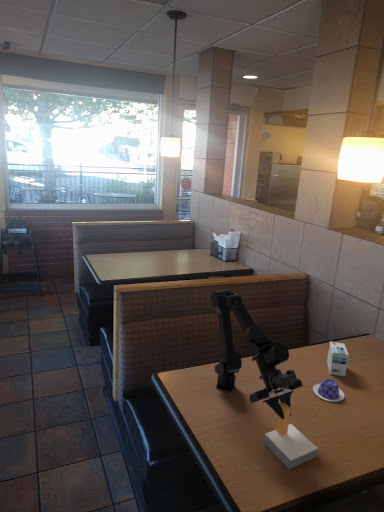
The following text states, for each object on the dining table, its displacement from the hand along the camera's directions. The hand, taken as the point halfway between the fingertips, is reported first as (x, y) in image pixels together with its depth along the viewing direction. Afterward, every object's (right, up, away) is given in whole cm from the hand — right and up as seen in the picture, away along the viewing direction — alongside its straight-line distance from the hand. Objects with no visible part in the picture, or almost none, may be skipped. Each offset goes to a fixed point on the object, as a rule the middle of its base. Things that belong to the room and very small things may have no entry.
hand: (286, 417), depth 122 cm
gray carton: (+1, -10, 0) cm, 10 cm away
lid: (+1, -7, -1) cm, 8 cm away
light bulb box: (+34, +1, +48) cm, 59 cm away
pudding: (+24, -3, +30) cm, 39 cm away
